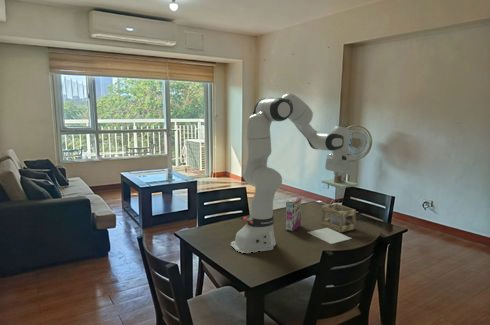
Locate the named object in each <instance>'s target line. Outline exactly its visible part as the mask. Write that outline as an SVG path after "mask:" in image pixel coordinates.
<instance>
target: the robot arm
mask: <svg viewBox="0 0 490 325" xmlns="http://www.w3.org/2000/svg"><path fill="white" fill-rule="evenodd" d="M313 114H314V112H313V111H312V109H311V108H310V106H309V105H308V104H307V103H305V101H304V100H303V99H301V98H300V97H299V96H297V95H295V94H294V93H292V92H288V93H285V94H283V95H281V97H267V98H261V99H259V100H257V102H256V103H255V105H254V108H253V112H252V114H251V115H250V116H249V117H248V119H247V124H246V139H247V162H246V164H245V165H246V166H245V167H244V168H243V171H242V179H244V180H243V181H245V182H246V183H247V184H248V185H250V186H252V187H254V188H255V190H254V195H253V197H252V198H251V199H250V200H249V201H250V202H249V208H250V209H249V212H250V214H249V217H247V216H243V219H242V220H243V221H244V222H247V223H246V224H245V225H244V226H243V227H242V228H241V229H239V230H238V231H237V232H236V234H235V239H234V240H233V241H231V242H230V247H231V246H232V247H233V248H234V249H235V250H234V249H233V248H232V247H231V248H232V249H233V250H234V251H235V252H237V251H238V253H239V252H241V253H240V254H243V253H246V254H252V253H251V252H253V253H259V252H258V251H260V252H267V251H273V250H274V247H275V246H276V244H277V242H276V238H275V232H274V224H275V222H274V221H275V219H274V214H273V213H274V199H275V195H276V192H277V190H279V189H280V188H281V186H282V184H283V178H282V174H281V173H280V172H278V171H277V170H276V169H274V168H273V167H269V166H268V159H269V157H270V155H271V154H272V138H271V124H272V122H284V121H286V120H287V119H289V121H290V122H292V123H293V124H294V125H295V127H296V129H297V130H298V131H299V132H300V133H301V134H302V136H304V138H305V139H306V141H307V143H308V145H309V146H310V147H311V148H312V149H313V150H320V151H321V150H322V151H328V152H329V151H330V152H331V153H329V154H328V155H326V161H325V166H324V167H325V170H326V171H331V172H333V175H334V176H339V173H340V176H341V175H342V176H341V178H340V181H344V177H345V178H346V175H348V176H349V175H350V176H353V175H356V174H357V162H356V160H357V156H356V155H354V153H352V152H350V147H349V146H350V142H351V141H350V140H351V139H350V138H351V136H350V135H351V134H350V133H351V132H350V129H349V127H348V126H346V125H345V126H343V125H334V127H333V129H331V130H329V131H328V132H327V131H318V130H315V129H314V128H313V127H312V125H311V124H310V123H311V122H312V120H313V116H314V115H313Z"/></svg>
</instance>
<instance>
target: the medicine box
mask: <svg viewBox="0 0 490 325" xmlns="http://www.w3.org/2000/svg"><path fill="white" fill-rule="evenodd" d="M338 211H339V212H344V211H341V210H338ZM330 218H331V221H330V223H333V224H335V225H337V226H339V217H337V216H335V215H332V214H330ZM346 221H347V217H343V218H342V226H346Z"/></svg>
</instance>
